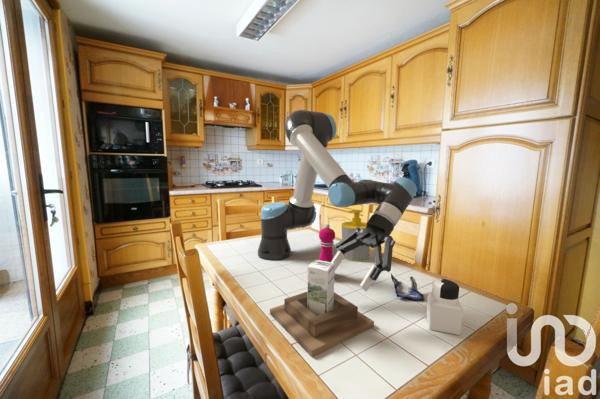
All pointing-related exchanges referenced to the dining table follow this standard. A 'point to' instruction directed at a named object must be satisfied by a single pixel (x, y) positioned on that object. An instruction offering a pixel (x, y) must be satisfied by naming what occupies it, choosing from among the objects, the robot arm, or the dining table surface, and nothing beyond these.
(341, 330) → the walnut holder
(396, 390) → the dining table surface
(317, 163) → the robot arm
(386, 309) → the dining table surface
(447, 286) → the white bottle
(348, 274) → the dining table surface
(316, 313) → the syrup box
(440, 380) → the dining table surface
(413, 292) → the snack package
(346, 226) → the soap bottle
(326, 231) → the pepper mill
